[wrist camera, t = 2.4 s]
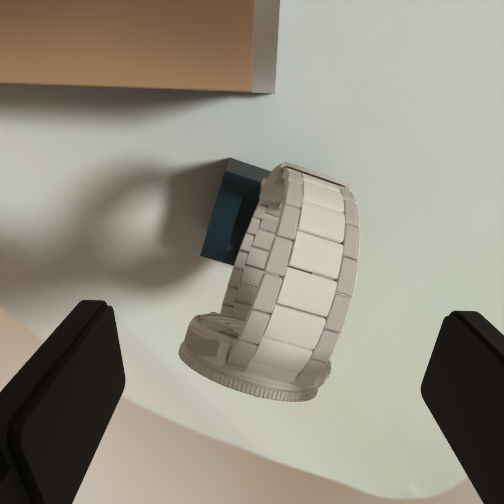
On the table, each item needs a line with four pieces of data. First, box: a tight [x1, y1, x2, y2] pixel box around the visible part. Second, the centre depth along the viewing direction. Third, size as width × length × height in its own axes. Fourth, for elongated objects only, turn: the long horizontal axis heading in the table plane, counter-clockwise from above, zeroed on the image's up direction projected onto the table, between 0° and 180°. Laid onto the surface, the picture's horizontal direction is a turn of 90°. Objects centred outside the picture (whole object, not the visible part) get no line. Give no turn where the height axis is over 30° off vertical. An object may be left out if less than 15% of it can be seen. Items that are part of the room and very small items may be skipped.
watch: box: [179, 158, 360, 402], centre depth 13 cm, size 6×8×11 cm
